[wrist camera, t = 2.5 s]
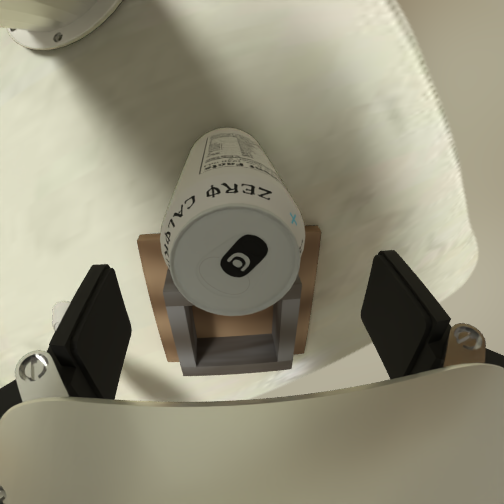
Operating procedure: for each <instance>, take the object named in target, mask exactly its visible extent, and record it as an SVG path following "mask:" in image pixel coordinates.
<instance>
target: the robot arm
mask: <svg viewBox="0 0 504 504" xmlns="http://www.w3.org/2000/svg"><path fill="white" fill-rule="evenodd" d="M121 2H122V0H0V27H3V28H6V29H7V31H8V33H9V35H10V36H11V38H12V39H13V40H14V41H15V42H16V43H18V44H19V45H21V46H23V47H26V48H30V49H35V50H49V49H56V48H60V47H63V46H67V45H69V44H71V43H73V42H75V41H78V40H80V39H81V38H83V37H84V36H86V35H88V34H89V33H91V32H92V31H93V30H95V29H96V28H97V27H98V26H99V25H101V24H102V23H103V22H104V21H105V20H106V19H107V18H108V17H109V16H110V15H111V14H112V13H113V12H114V11H115V9H116V8H117V7H118V6H119V4H120V3H121ZM61 37H62V39H61ZM361 319H362V322H363V324H364V326H365V328H366V330H367V331H368V333H369V335H370V337H371V339H372V342H373V344H374V346H375V347H376V350H377V352H378V354H379V356H380V358H381V360H382V362H383V364H384V366H385V368H386V370H387V373H388V375H389V377H390V380H386V381H381V382H376V383H371V384H367V385H361V386H356V387H350V388H344V389H338V390H332V391H326V392H318V393H311V394H304V395H295V396H287V397H277V398H266V399H253V400H237V401H214V402H153V401H129V400H114V399H115V395H116V391H117V387H118V382H119V378H120V374H121V370H122V366H123V363H124V359H125V355H126V351H127V348H128V344H129V340H130V337H131V331H132V330H131V324H130V320H129V317H128V314H127V311H126V308H125V305H124V301H123V298H122V295H121V291H120V288H119V284H118V281H117V277H116V274H115V270H114V269H113V268H110V267H109V265H108V264H101V265H92V267H91V268H90V270H89V271H88V273H87V275H86V277H85V278H84V280H83V282H82V283H81V285H80V287H79V289H78V290H77V292H76V294H75V296H74V297H73V299H72V301H71V303H70V305H69V307H68V308H67V310H66V312H65V314H64V316H63V318H62V320H61V322H60V324H59V326H58V327H57V329H56V331H55V333H54V335H53V337H52V339H51V341H50V344H49V348H48V350H47V352H45V351H41V350H37V351H32V352H30V353H28V354H26V355H25V356H23V357H22V358H21V359H20V360H19V362H18V364H17V365H16V369H15V377H16V380H14V381H12V382H11V383H9V384H7V385H6V386H4V387H2V388H1V389H0V504H504V356H503V355H501V354H498V353H496V352H493V351H491V350H489V349H486V342H485V338H484V336H483V334H482V333H481V332H480V331H479V330H478V329H477V328H475V327H474V326H471V325H469V324H465V323H459V324H455V325H454V326H453V327H451V326H450V324H449V322H450V320H451V318H450V317H449V316H448V314H447V313H446V312H445V310H444V309H443V308H442V307H441V305H440V304H439V303H438V301H437V300H436V299H435V298H434V296H433V295H432V294H431V293H430V291H429V290H428V289H427V288H426V286H425V285H424V284H423V283H422V282H421V280H420V279H419V278H418V277H417V276H416V274H415V273H414V272H413V271H412V270H411V268H410V267H409V266H408V265H407V264H406V263H405V261H404V260H403V259H402V258H401V257H400V256H399V255H398V253H397V252H396V251H394V250H389V251H380V252H379V253H378V255H376V256H375V257H374V259H373V264H372V268H371V273H370V277H369V282H368V286H367V290H366V294H365V298H364V302H363V306H362V310H361Z"/></svg>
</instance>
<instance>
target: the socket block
mask: <svg viewBox="0 0 504 504" xmlns="http://www.w3.org/2000/svg"><path fill="white" fill-rule="evenodd" d="M304 227H305V243H304V249H303V252H302V255H301V258H300V259H301V260H300V268H299V272H298V275H297V277H296V280H295V282H294V283H293V285H292V287H291V288H290V290H289V291H288V292H287V293H286V294H285V295H284V296H283V297H282V298H281V299H280V300H279V301H277V302H276V303H275V304H273V305H272V306H270V307H268V308H266V309H264V310H262V311H259V312H256V313H253V314H248V315H242V316H224V315H217V314H214V313H210V312H207V311H205V310H202V309H200V308H198V307H196V306H195V305H193V304H192V303H191V302H189V301H188V300H187V299H186V298H185V297H184V296H183V295H182V294H181V293H180V292H179V290H178V289H177V287H176V285H175V284H174V281H173V279H172V276H171V273H170V270H169V268H168V266H167V265H166V263H165V260H164V257H163V254H162V251H161V243H160V235H161V233H159V234H144V235H140V236H139V238H138V240H137V244H138V249H139V253H140V258H141V263H142V267H143V272H144V276H145V280H146V284H147V288H148V293H149V297H150V301H151V304H152V308H153V312H154V316H155V320H156V323H157V327H158V330H159V334H160V337H161V341H162V344H163V348H164V351H165V354H166V358H167V361H168V362H180V365H181V369H182V372H183V376H206V375H227V374H243V373H256V372H268V371H278V370H287V369H291V368H292V361H293V355H294V354H302V353H304V351H305V345H306V339H307V333H308V327H309V320H310V314H311V307H312V300H313V293H314V286H315V279H316V272H317V264H318V256H319V247H320V239H321V230H320V229H319V227H318V225H317V226H304Z"/></svg>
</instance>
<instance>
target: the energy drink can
mask: <svg viewBox="0 0 504 504" xmlns="http://www.w3.org/2000/svg"><path fill="white" fill-rule="evenodd" d="M160 243H161V251H162V254H163V257H164V260H165V263H166V265H167V266H168V268H169V270H170V273H171V276H172V279H173V281H174V284H175V285H176V287H177V289H178V290H179V292H180V293H181V294H182V295H183V296H184V297H185V298H186V299H187V300H188V301H189V302H191V303H192V304H193V305H195V306H196V307H198V308H200V309H202V310H205V311H207V312H210V313H214V314H217V315H224V316H242V315H248V314H253V313H256V312H259V311H262V310H264V309H266V308H268V307H270V306H272V305H273V304H275V303H276V302H277V301H279V300H280V299H281V298H282V297H283V296H284V295H285V294H286V293H287V292H288V291H289V290H290V288H291V287H292V285H293V283H294V282H295V280H296V277H297V275H298V272H299V268H300V260H301V259H300V258H301V255H302V252H303V249H304V243H305V227H304V222H303V219H302V216H301V213H300V211H299V209H298V207H297V205H296V204H295V202H294V200H293V199H292V197H291V195H290V194H289V192H288V190H287V189H286V187H285V185H284V184H283V182H282V180H281V179H280V177H279V175H278V174H277V172H276V170H275V169H274V167H273V166H272V164H271V162H270V161H269V159H268V158H267V156H266V154H265V153H264V151H263V150H262V148H261V146H260V145H259V143H258V142H257V141H256V140H255V139H254V138H253V137H252V136H251V135H249V134H248V133H246V132H244V131H242V130H239V129H235V128H219V129H215V130H212V131H210V132H208V133H206V134H205V135H203V136H202V137H200V138H199V139H198V140H197V141H196V143H195V144H194V146H193V147H192V149H191V151H190V153H189V156H188V158H187V160H186V163H185V165H184V168H183V170H182V173H181V175H180V178H179V180H178V183H177V185H176V188H175V190H174V193H173V195H172V198H171V201H170V203H169V206H168V209H167V211H166V214H165V217H164V220H163V223H162V226H161V235H160Z"/></svg>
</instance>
